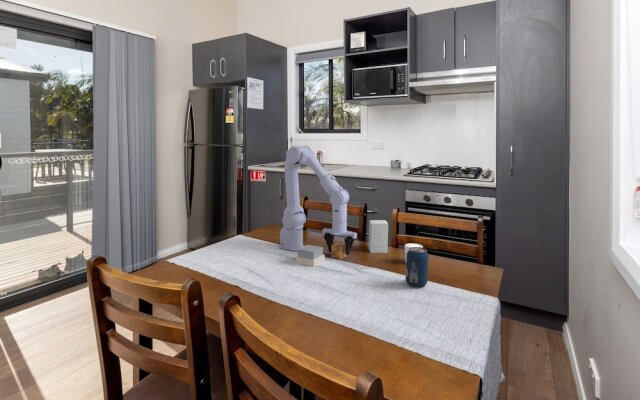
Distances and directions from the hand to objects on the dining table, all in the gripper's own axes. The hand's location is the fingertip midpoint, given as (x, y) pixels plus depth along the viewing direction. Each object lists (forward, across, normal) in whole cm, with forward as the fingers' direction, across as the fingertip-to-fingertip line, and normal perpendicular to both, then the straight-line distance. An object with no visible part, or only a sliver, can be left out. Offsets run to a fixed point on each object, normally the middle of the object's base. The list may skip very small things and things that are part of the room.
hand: (339, 253), depth 159 cm
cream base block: (+2, -6, -12) cm, 14 cm away
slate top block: (-1, -6, -12) cm, 14 cm away
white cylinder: (+2, +28, +8) cm, 29 cm away
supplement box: (+2, +10, +16) cm, 19 cm away
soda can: (+2, +36, -13) cm, 38 cm away
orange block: (+2, 0, 0) cm, 2 cm away
